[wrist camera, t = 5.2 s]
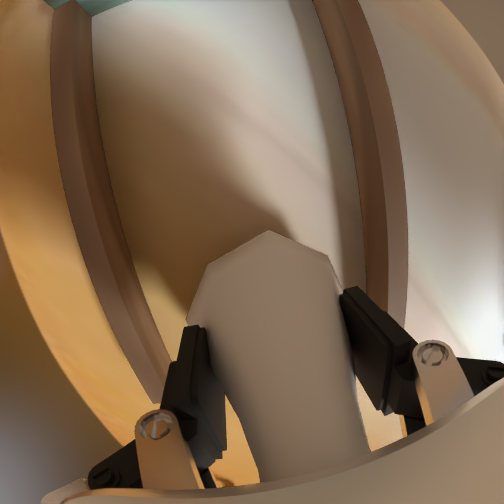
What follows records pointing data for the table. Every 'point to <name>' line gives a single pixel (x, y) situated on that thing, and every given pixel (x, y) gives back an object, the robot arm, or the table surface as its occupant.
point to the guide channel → (103, 204)
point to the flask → (282, 354)
